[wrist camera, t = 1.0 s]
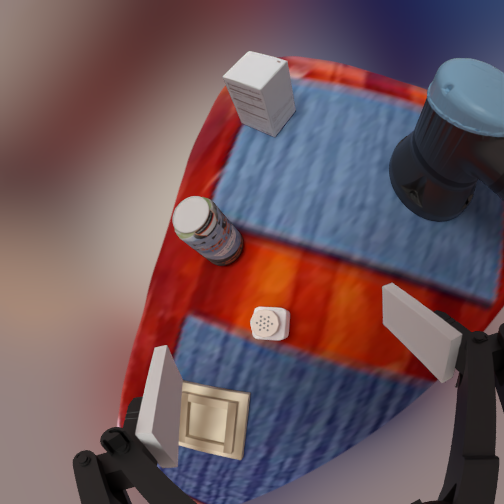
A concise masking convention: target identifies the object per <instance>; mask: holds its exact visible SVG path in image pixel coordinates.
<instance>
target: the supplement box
mask: <svg viewBox="0 0 504 504" xmlns="http://www.w3.org/2000/svg"><path fill="white" fill-rule="evenodd" d="M223 79H224V82H225V84H226V86H227V89H228V91H229V94H230V96H231V98H232V101H233V103H234V105H235V108H236V110H237V113H238V115H239V117H240V120H241V122H242V123H243V124H245V125H247V126H250V127H252V128H254V129H256V130H259V131H261V132H263V133H266V134H268V135H270V136H273V137H276V135H277V134H278V133H279V131H280V130H281V129H282V127H283V126H284V125H285V124H286V122H287V121H288V120H289V118H290V117H291V116H292V115H293V113H294V112H295V111H296V110H295V103H294V97H293V91H292V85H291V79H290V74H289V68H288V63H287V61H285V60H282V59H279V58H275V57H271V56H268V55H264V54H260V53H256V52H251V51H248V52H247V53H246V54H245V55H244V56H243V57H242V58H241V59H240V60H239V61H238V62H237V63H236V64H235V65H234V66H233V67H232V68H231V69H230V70H229V71H228V72H227V73H226V74H225V75H224V76H223Z"/></svg>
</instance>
